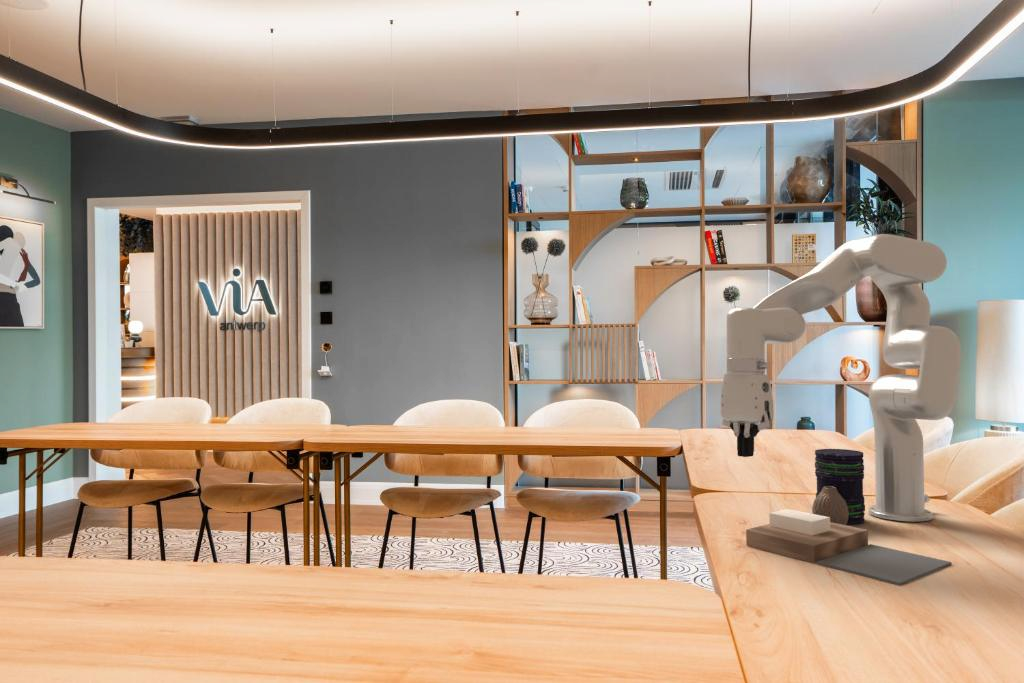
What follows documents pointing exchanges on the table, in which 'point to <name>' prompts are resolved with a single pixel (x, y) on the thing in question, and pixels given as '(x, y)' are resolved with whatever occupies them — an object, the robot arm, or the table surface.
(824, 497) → the vase
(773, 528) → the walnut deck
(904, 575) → the charcoal mat
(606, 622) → the table surface
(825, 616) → the table surface
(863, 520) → the storage jar
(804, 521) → the ivory tile
